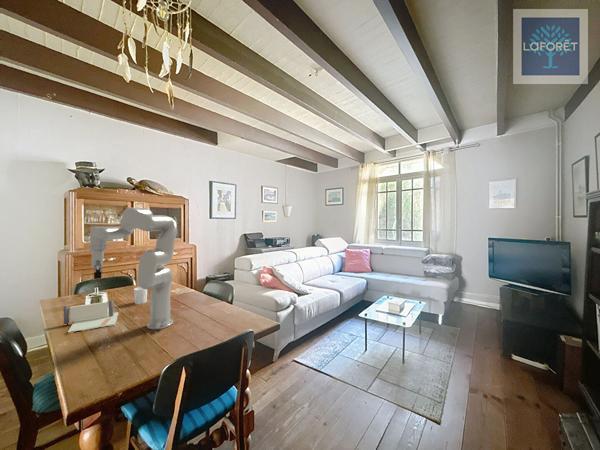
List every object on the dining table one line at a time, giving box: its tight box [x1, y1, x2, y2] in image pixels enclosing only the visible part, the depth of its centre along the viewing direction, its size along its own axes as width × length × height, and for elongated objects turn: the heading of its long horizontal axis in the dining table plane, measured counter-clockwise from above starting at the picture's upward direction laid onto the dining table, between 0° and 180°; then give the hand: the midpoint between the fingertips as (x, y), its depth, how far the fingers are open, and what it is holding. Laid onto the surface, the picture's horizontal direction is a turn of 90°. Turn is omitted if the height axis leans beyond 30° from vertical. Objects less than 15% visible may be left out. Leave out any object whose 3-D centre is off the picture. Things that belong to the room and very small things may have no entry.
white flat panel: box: [69, 301, 108, 323], centre depth 135 cm, size 16×1×8 cm, turn 122°
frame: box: [63, 299, 119, 332], centre depth 132 cm, size 19×23×10 cm
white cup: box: [133, 286, 148, 305], centre depth 166 cm, size 8×8×10 cm
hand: (97, 276), depth 141 cm, fingers open, 9 cm apart
